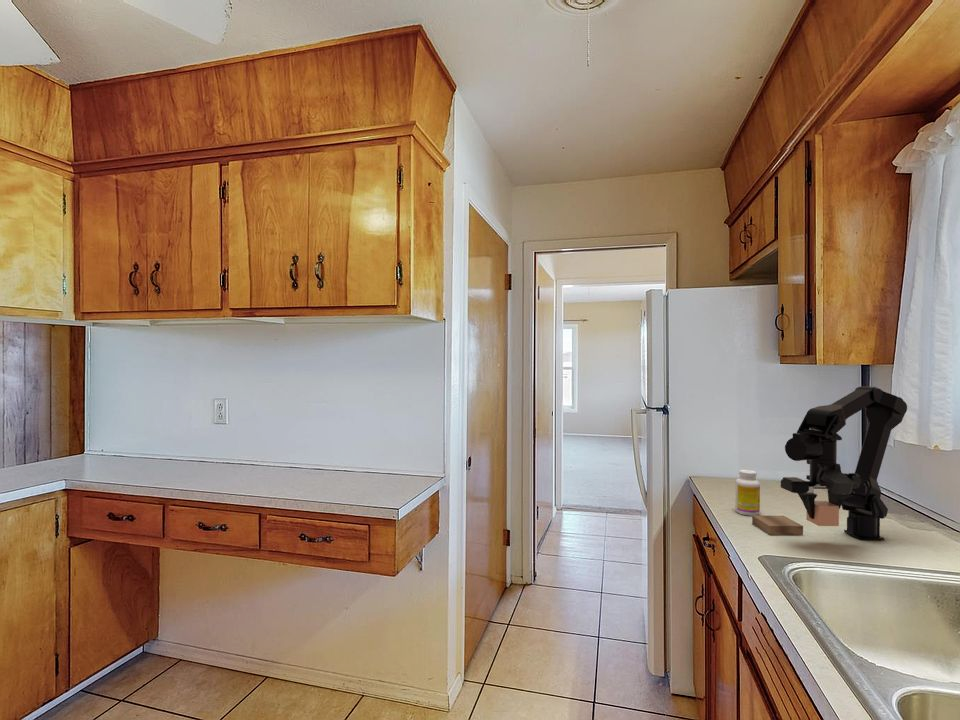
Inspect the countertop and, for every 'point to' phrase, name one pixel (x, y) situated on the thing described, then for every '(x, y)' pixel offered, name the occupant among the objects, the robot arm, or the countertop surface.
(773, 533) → the brown block
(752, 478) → the supplement bottle
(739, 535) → the countertop surface
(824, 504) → the cube
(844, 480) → the robot arm
